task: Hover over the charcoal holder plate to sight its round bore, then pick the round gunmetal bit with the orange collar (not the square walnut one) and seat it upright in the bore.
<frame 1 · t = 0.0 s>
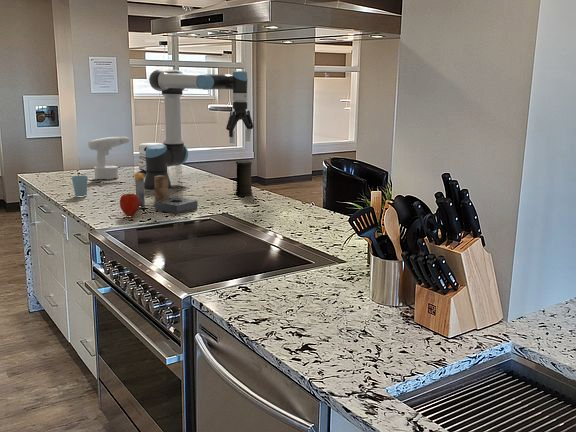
hand: (240, 142, 302), 28 cm above the worktop, fingers open, 13 cm apart
square bit: (161, 199, 293), on the worktop
cup: (81, 196, 295), on the worktop
holder plate: (176, 209, 271), on the worktop
round bit: (140, 206, 276), on the worktop
power drill: (111, 178, 348), on the worktop
apple: (130, 217, 256), on the worktop
container: (243, 195, 307), on the worktop
milk container: (152, 171, 375), on the worktop
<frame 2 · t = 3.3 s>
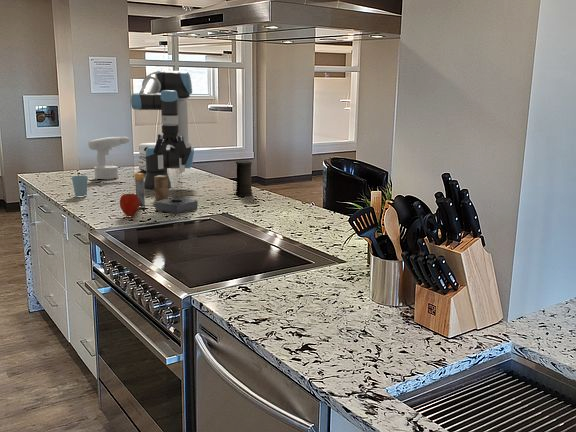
hand: (171, 170, 267), 19 cm above the worktop, fingers open, 13 cm apart
nothing on the worktop moved.
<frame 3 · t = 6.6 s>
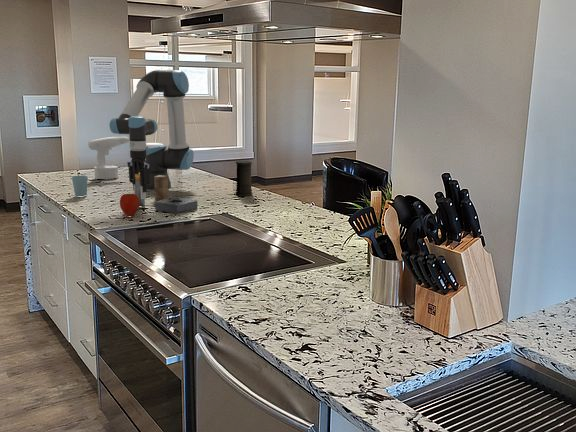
hand: (140, 198, 275), 4 cm above the worktop, fingers closed on round bit, 4 cm apart
round bit: (140, 206, 276), on the worktop, touching gripper
everything else where it was.
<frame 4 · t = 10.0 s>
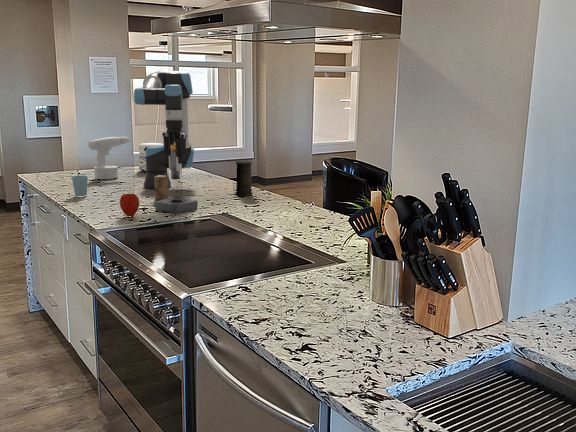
hand: (175, 169, 266), 19 cm above the worktop, fingers closed on round bit, 4 cm apart
round bit: (175, 178, 267), point 15 cm above the worktop, touching gripper
everything else where it was.
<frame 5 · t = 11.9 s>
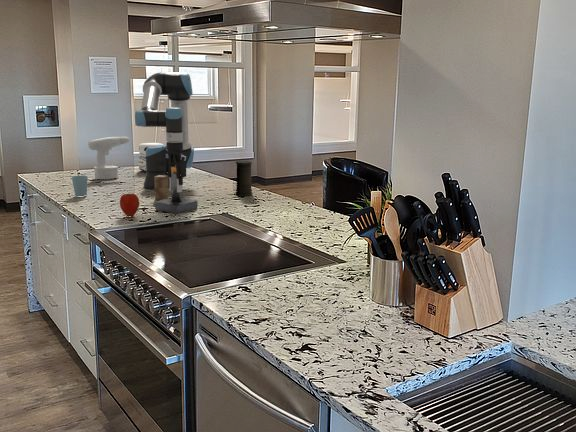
hand: (176, 191, 269), 9 cm above the worktop, fingers closed on round bit, 4 cm apart
round bit: (176, 200, 270), point 5 cm above the worktop, touching gripper
everything else where it was.
when the fingers open (6 cm above the worktop, at t = 13.5 s): round bit drops 1 cm, resting in holder plate.
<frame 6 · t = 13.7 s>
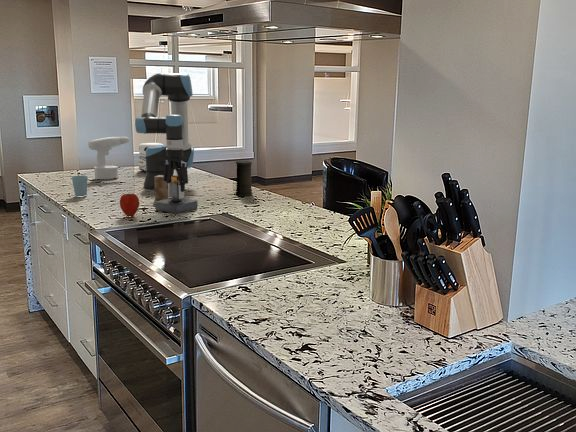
hand: (176, 197, 270), 6 cm above the worktop, fingers open, 6 cm apart
round bit: (176, 209, 271), resting in holder plate
everything else where it was.
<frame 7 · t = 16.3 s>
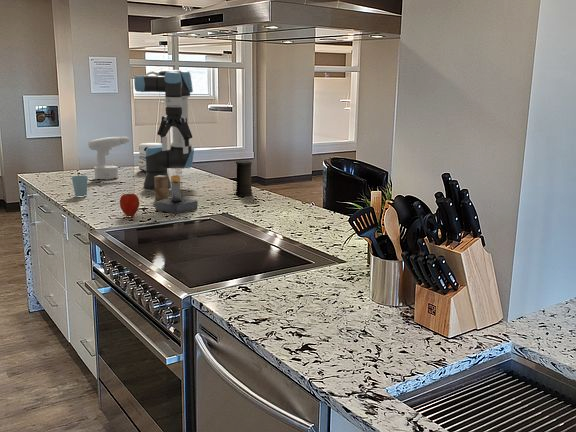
hand: (175, 152, 270), 27 cm above the worktop, fingers open, 13 cm apart
nothing on the worktop moved.
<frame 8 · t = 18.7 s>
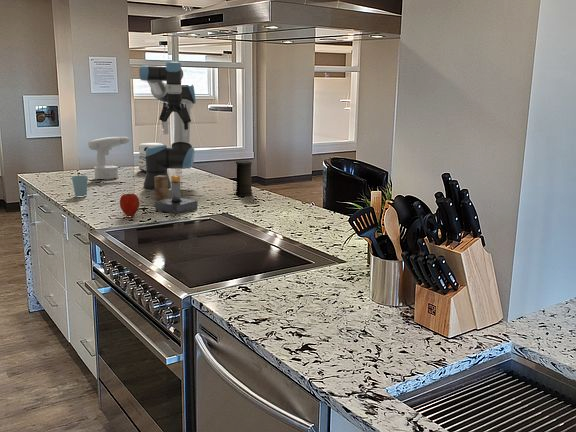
hand: (175, 135, 295), 32 cm above the worktop, fingers open, 13 cm apart
nothing on the worktop moved.
at the end: round bit 0.0 cm off-centre on the holder plate, point 0.0 cm above the holder plate's base; round bit tilted 0°; the gripper is holding nothing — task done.
